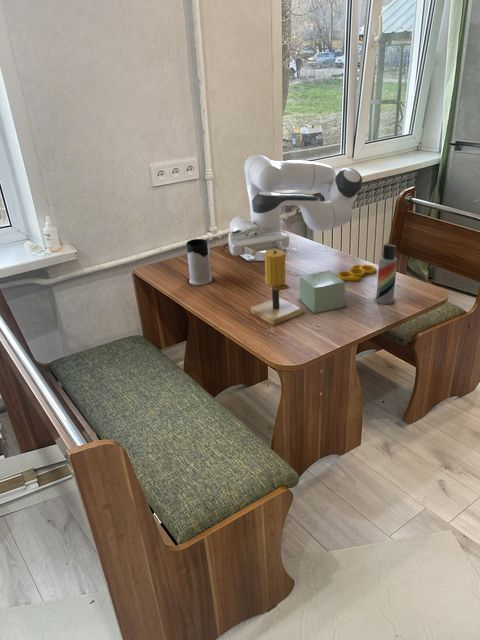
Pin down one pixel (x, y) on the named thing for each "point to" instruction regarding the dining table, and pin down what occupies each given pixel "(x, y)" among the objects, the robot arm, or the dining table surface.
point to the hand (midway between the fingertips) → (267, 251)
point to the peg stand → (276, 309)
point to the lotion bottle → (386, 275)
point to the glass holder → (199, 261)
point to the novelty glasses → (356, 276)
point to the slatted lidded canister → (275, 269)
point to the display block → (322, 291)
